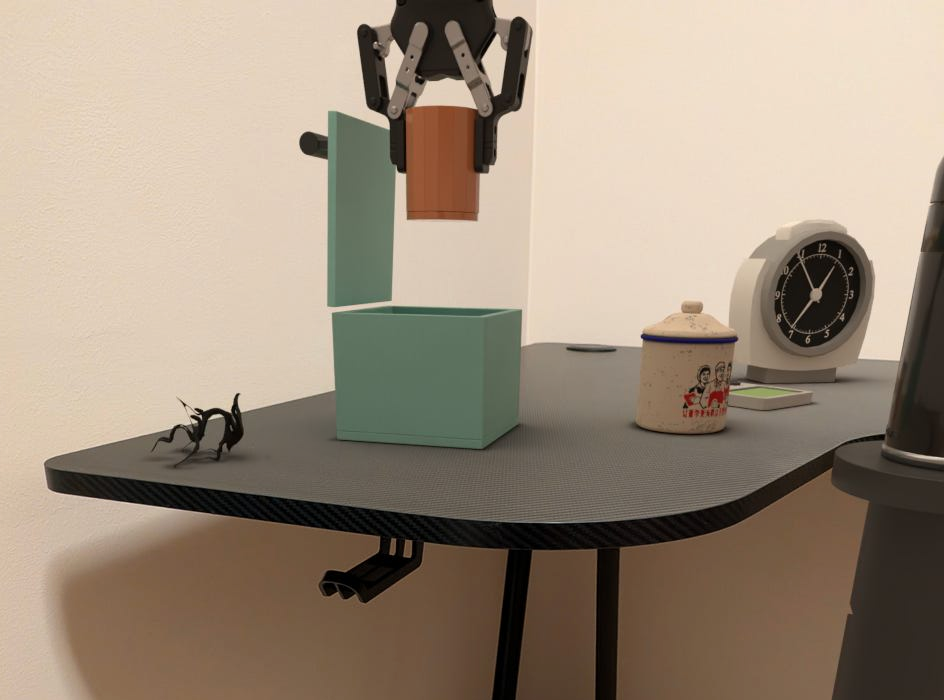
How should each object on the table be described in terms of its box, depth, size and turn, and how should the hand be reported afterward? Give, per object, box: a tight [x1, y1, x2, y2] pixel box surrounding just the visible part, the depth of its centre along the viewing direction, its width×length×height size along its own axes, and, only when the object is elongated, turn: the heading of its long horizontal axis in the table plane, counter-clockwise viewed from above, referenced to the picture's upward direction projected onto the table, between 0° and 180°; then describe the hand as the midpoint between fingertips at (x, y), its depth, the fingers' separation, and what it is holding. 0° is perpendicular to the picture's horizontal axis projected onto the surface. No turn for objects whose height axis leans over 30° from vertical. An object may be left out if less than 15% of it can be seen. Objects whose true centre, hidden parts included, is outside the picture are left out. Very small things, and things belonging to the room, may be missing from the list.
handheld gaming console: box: [728, 379, 814, 411], centre depth 108 cm, size 10×2×15 cm
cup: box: [405, 104, 481, 223], centre depth 74 cm, size 6×6×8 cm
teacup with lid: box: [635, 300, 738, 435], centre depth 88 cm, size 12×9×12 cm
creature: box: [150, 392, 245, 467], centre depth 73 cm, size 8×5×8 cm
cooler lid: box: [298, 110, 397, 308], centre depth 81 cm, size 15×14×5 cm
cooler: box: [331, 305, 523, 450], centre depth 84 cm, size 14×14×11 cm
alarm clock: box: [728, 218, 876, 384], centre depth 122 cm, size 18×8×20 cm, turn 104°
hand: (443, 172), depth 74 cm, fingers closed on cup, 6 cm apart
